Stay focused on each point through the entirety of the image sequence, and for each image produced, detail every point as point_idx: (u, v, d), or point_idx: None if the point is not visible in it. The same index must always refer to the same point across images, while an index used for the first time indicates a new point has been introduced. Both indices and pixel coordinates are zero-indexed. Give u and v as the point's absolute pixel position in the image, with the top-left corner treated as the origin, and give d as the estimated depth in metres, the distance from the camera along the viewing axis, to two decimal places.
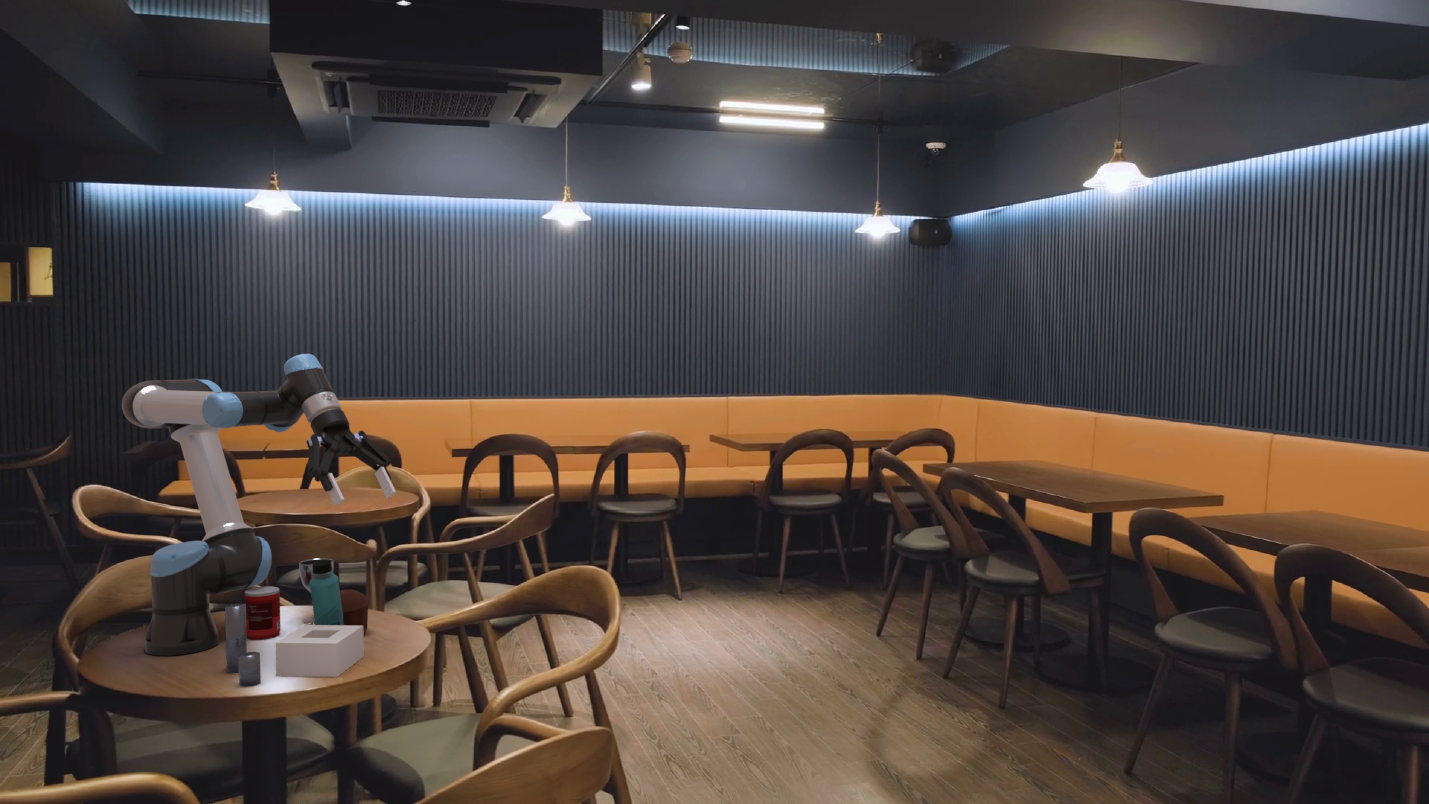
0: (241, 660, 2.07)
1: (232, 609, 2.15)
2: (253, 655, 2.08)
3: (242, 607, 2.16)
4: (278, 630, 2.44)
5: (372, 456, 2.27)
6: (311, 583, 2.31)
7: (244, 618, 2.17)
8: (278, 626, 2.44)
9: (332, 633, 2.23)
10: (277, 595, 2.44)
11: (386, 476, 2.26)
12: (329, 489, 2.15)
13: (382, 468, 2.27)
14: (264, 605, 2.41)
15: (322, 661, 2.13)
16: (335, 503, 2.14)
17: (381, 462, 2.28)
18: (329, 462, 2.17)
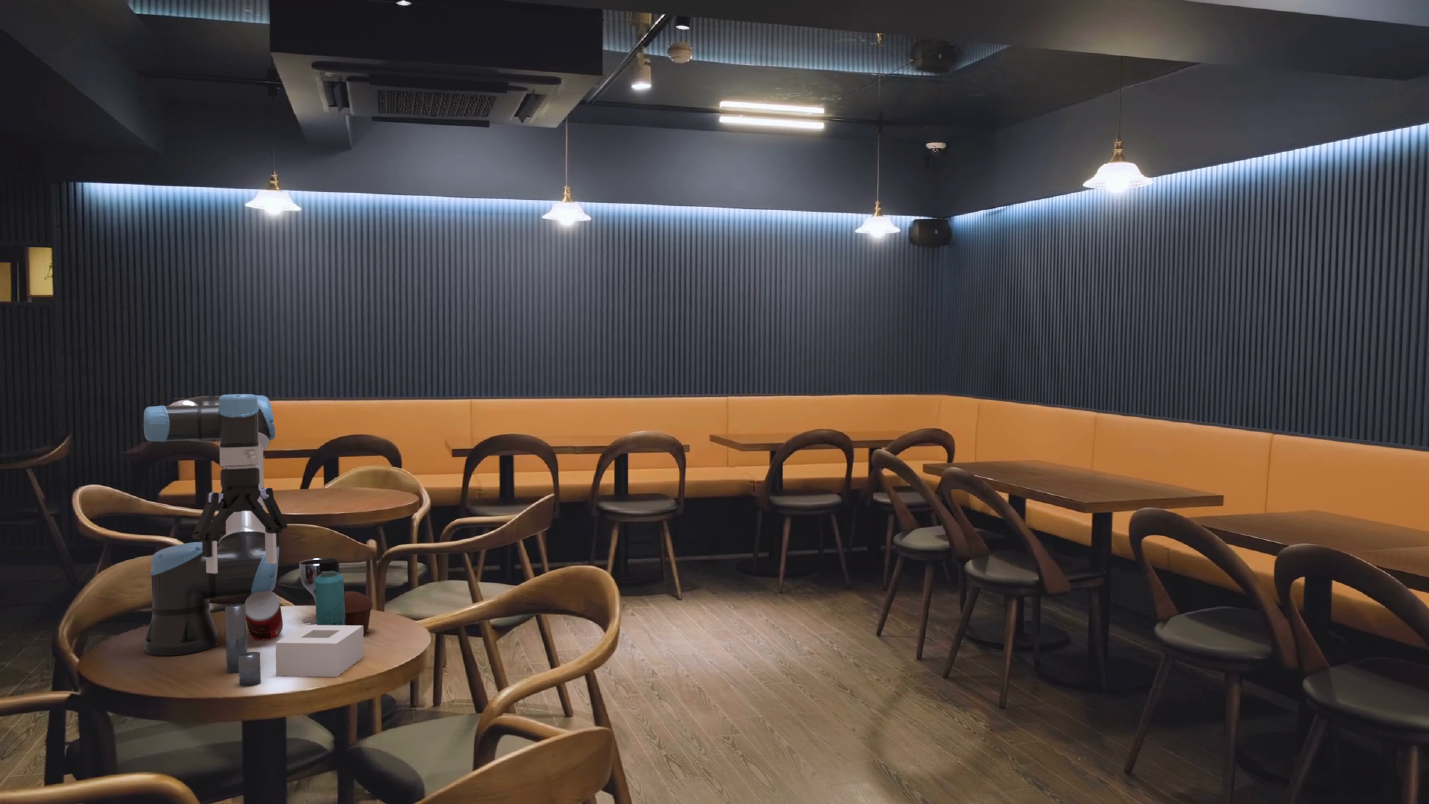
0: (241, 660, 2.07)
1: (232, 609, 2.15)
2: (253, 655, 2.08)
3: (242, 607, 2.16)
4: (278, 634, 2.43)
5: (269, 520, 2.21)
6: (316, 580, 2.32)
7: (244, 618, 2.17)
8: (278, 631, 2.42)
9: (332, 633, 2.23)
10: (275, 616, 2.37)
11: (274, 545, 2.21)
12: (207, 556, 2.10)
13: (273, 535, 2.21)
14: (260, 626, 2.36)
15: (322, 661, 2.13)
16: (208, 571, 2.11)
17: (275, 527, 2.22)
18: (219, 527, 2.11)
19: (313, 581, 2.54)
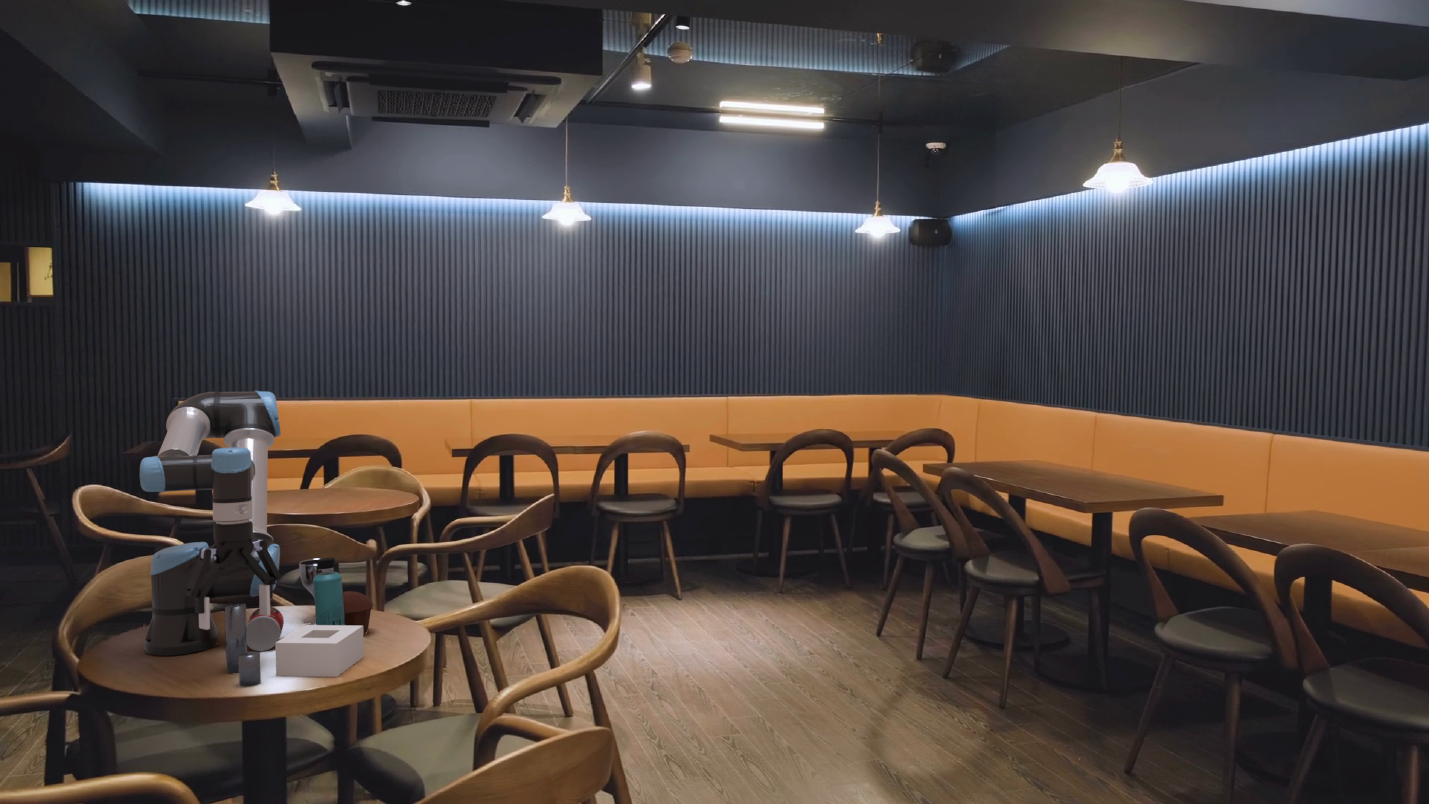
0: (240, 660, 2.07)
1: (232, 609, 2.15)
2: (253, 655, 2.08)
3: (242, 607, 2.16)
4: None
5: (262, 572, 2.20)
6: (315, 579, 2.34)
7: (244, 618, 2.17)
8: None
9: (332, 633, 2.23)
10: None
11: (267, 597, 2.21)
12: None
13: (267, 587, 2.21)
14: None
15: (322, 661, 2.13)
16: (200, 626, 2.11)
17: (269, 579, 2.22)
18: (212, 583, 2.11)
19: None
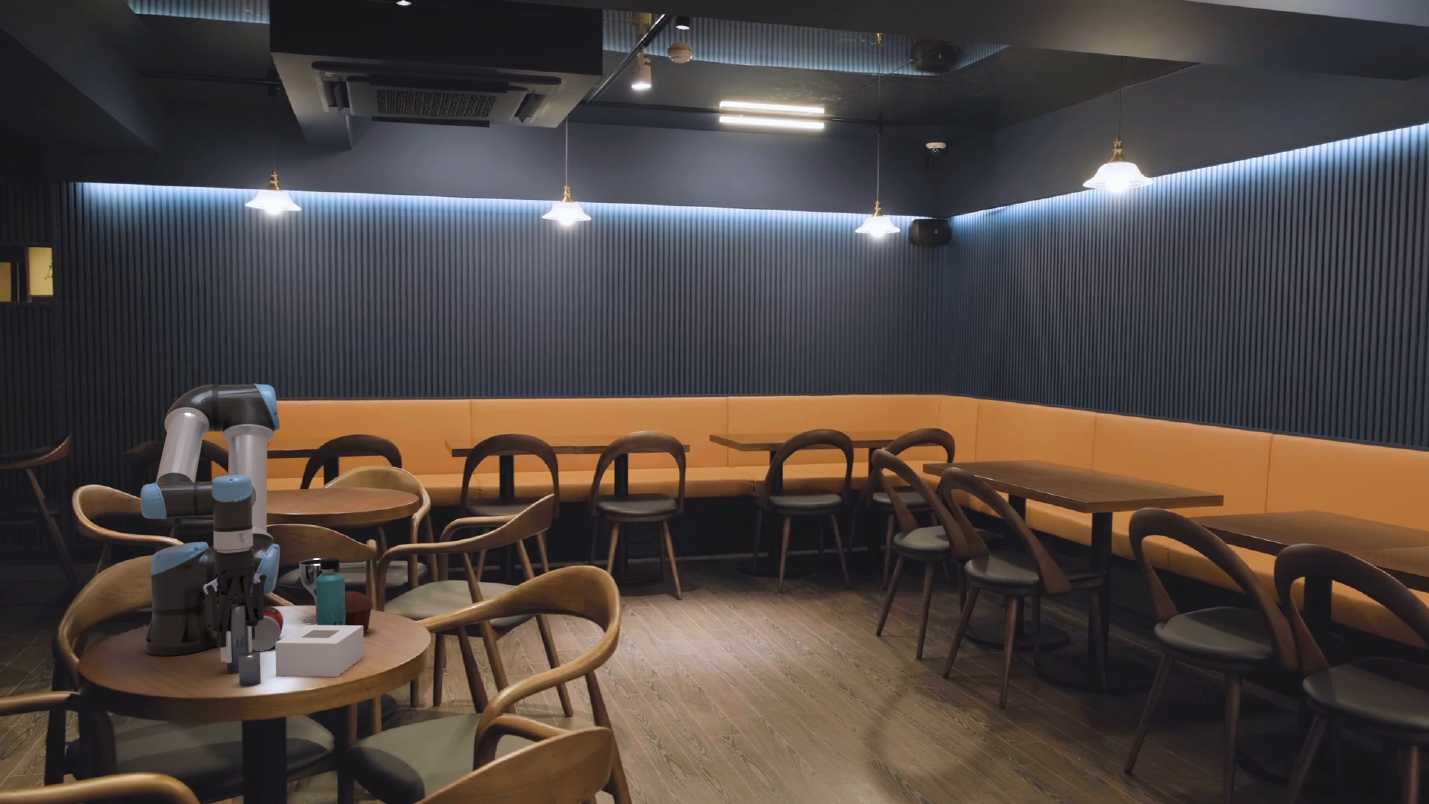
0: (240, 660, 2.07)
1: (232, 609, 2.15)
2: (253, 655, 2.08)
3: (242, 607, 2.16)
4: None
5: (250, 609, 2.18)
6: (318, 579, 2.34)
7: (244, 618, 2.17)
8: None
9: (332, 633, 2.23)
10: None
11: (249, 638, 2.18)
12: None
13: (249, 628, 2.18)
14: None
15: (322, 661, 2.13)
16: (222, 659, 2.16)
17: (252, 619, 2.19)
18: (228, 615, 2.14)
19: (313, 581, 2.54)
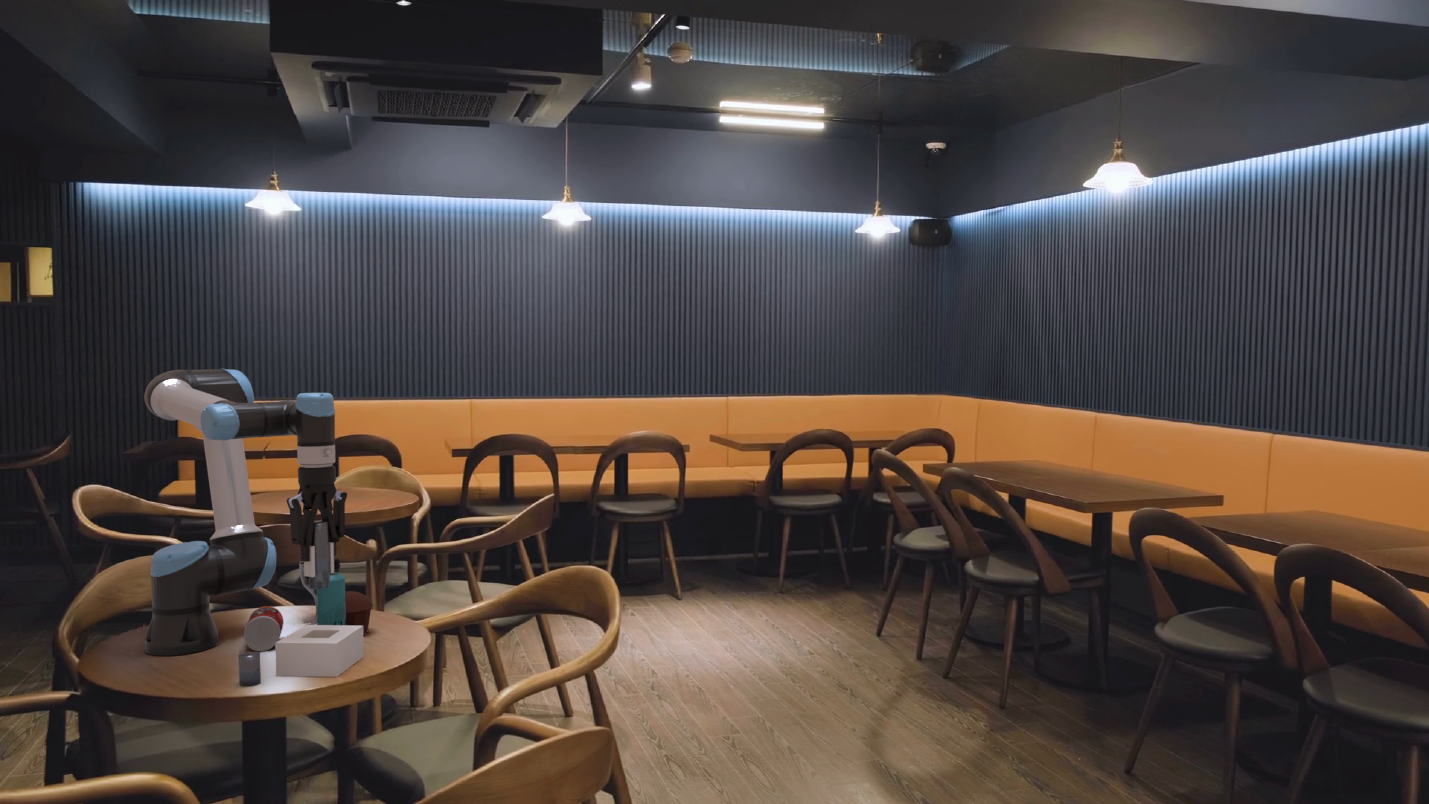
0: (240, 660, 2.07)
1: (315, 524, 2.17)
2: (253, 655, 2.08)
3: (325, 523, 2.18)
4: None
5: (332, 525, 2.21)
6: None
7: (327, 534, 2.19)
8: None
9: (332, 633, 2.23)
10: None
11: (331, 554, 2.21)
12: None
13: (331, 544, 2.20)
14: None
15: (322, 661, 2.13)
16: (305, 574, 2.18)
17: (334, 536, 2.21)
18: (311, 530, 2.16)
19: None
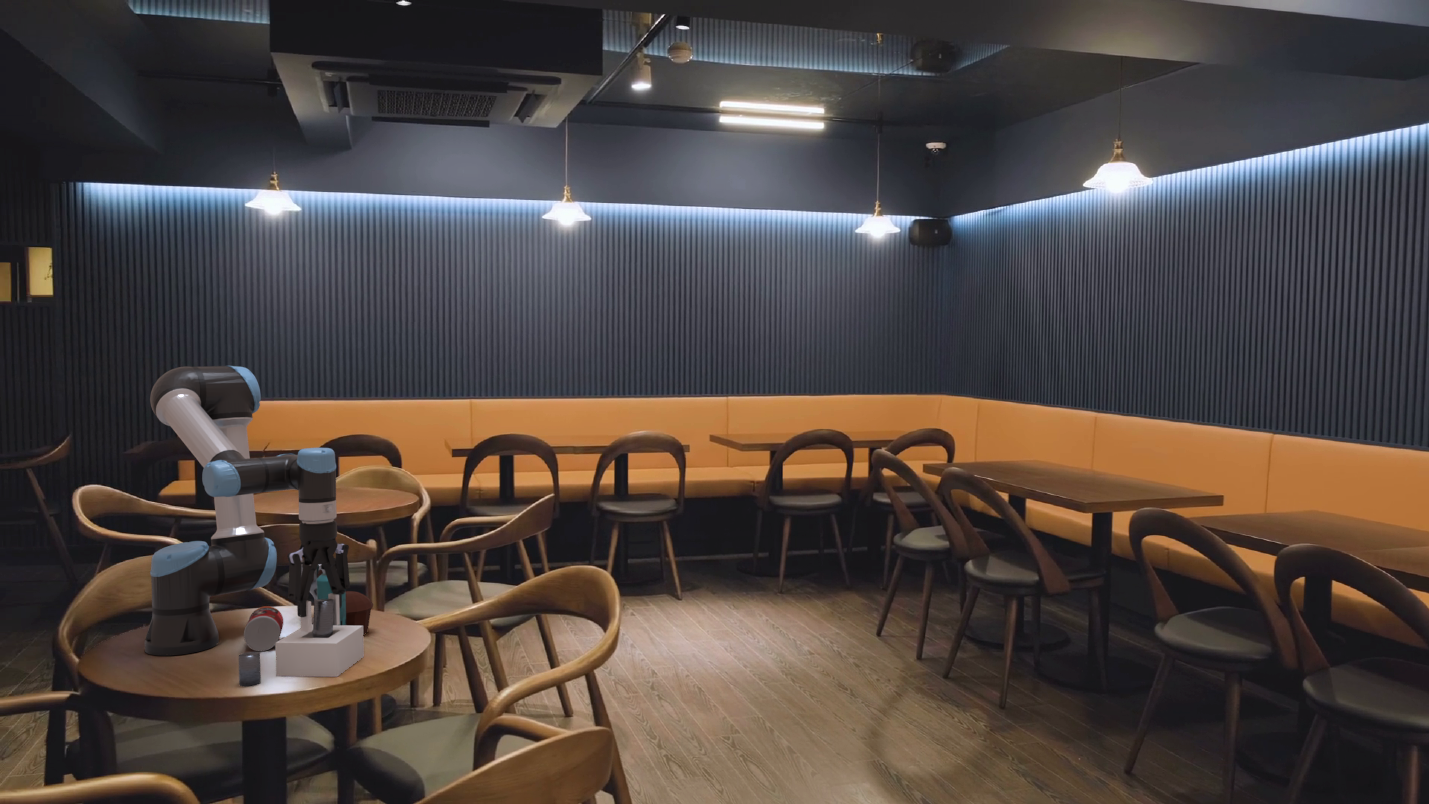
0: (241, 660, 2.07)
1: (321, 603, 2.19)
2: (253, 655, 2.08)
3: (331, 602, 2.20)
4: None
5: (336, 578, 2.22)
6: (318, 579, 2.34)
7: (332, 613, 2.21)
8: None
9: None
10: None
11: (337, 606, 2.22)
12: None
13: (337, 597, 2.22)
14: None
15: (322, 661, 2.13)
16: (302, 629, 2.17)
17: (339, 588, 2.23)
18: (309, 586, 2.16)
19: (313, 581, 2.54)
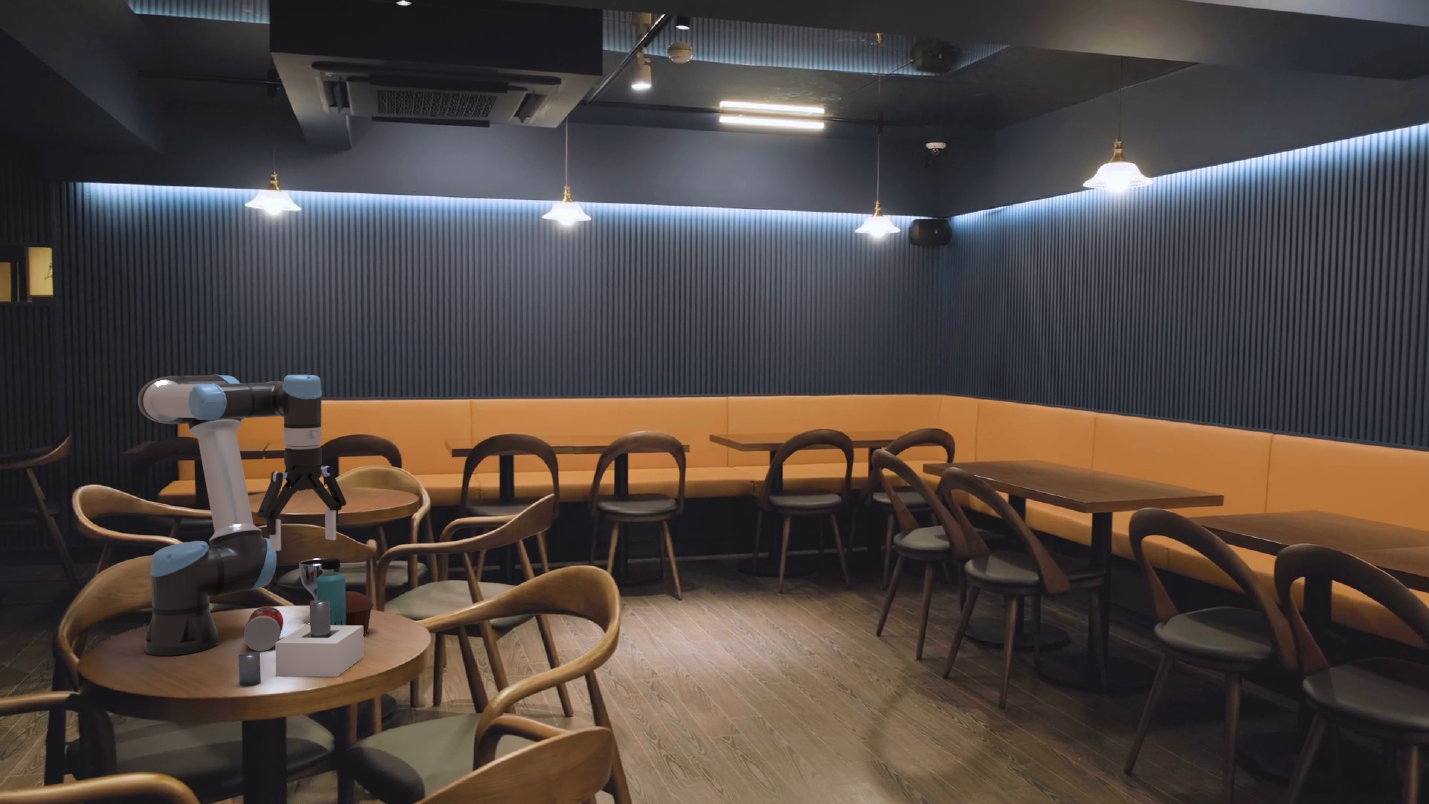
0: (240, 660, 2.07)
1: (317, 605, 2.18)
2: (253, 655, 2.08)
3: (327, 603, 2.19)
4: None
5: (329, 498, 2.26)
6: (319, 579, 2.34)
7: (328, 614, 2.20)
8: None
9: (332, 633, 2.23)
10: None
11: (333, 522, 2.27)
12: None
13: (333, 512, 2.27)
14: None
15: (322, 661, 2.13)
16: (271, 547, 2.17)
17: (335, 505, 2.27)
18: (283, 506, 2.16)
19: (313, 581, 2.54)
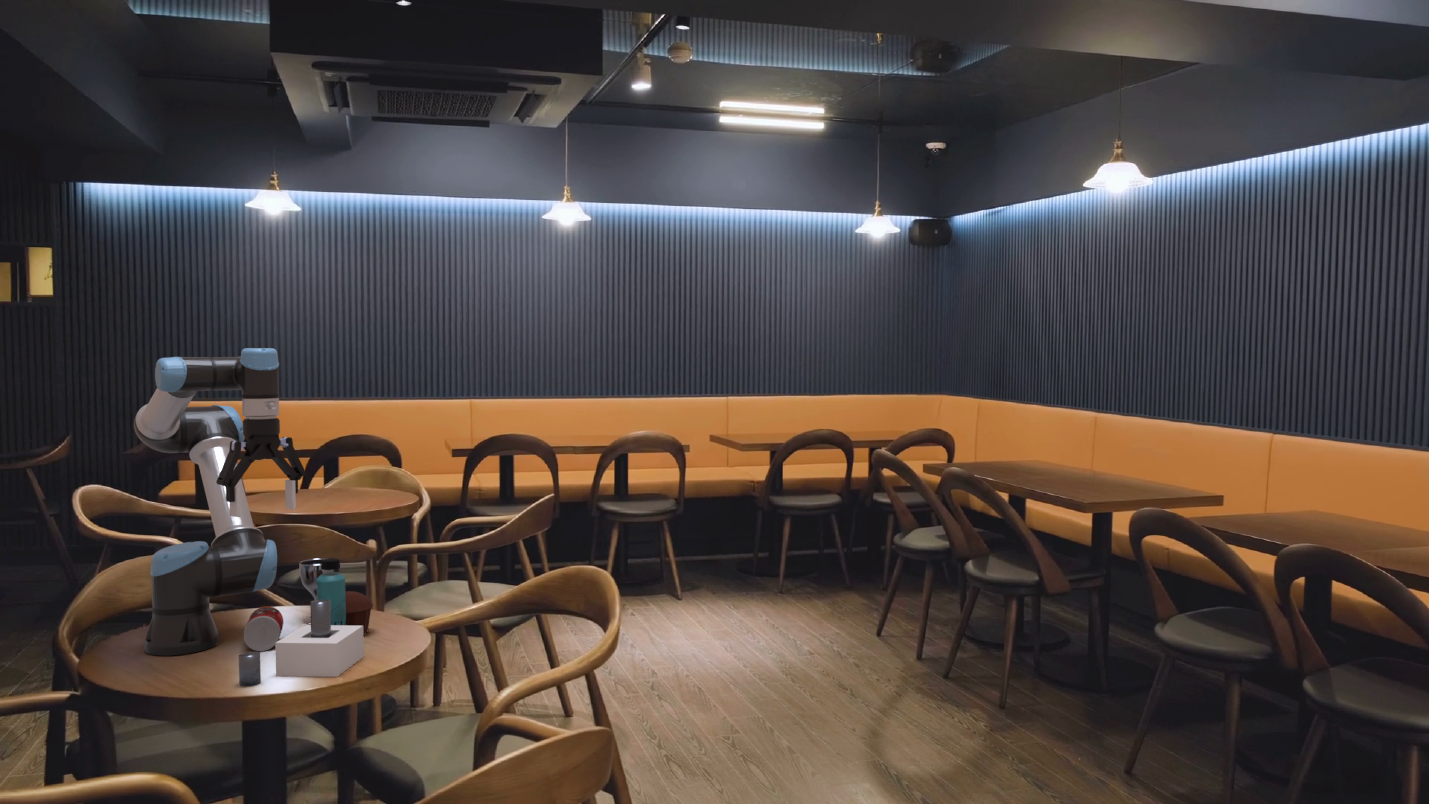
0: (240, 660, 2.07)
1: (318, 605, 2.18)
2: (253, 655, 2.08)
3: (327, 603, 2.19)
4: None
5: (288, 468, 2.33)
6: (318, 579, 2.34)
7: (329, 614, 2.20)
8: None
9: (332, 633, 2.23)
10: None
11: (293, 491, 2.34)
12: (230, 501, 2.23)
13: (293, 482, 2.34)
14: None
15: (322, 661, 2.13)
16: (231, 515, 2.23)
17: (295, 475, 2.34)
18: (242, 474, 2.23)
19: (313, 581, 2.54)
